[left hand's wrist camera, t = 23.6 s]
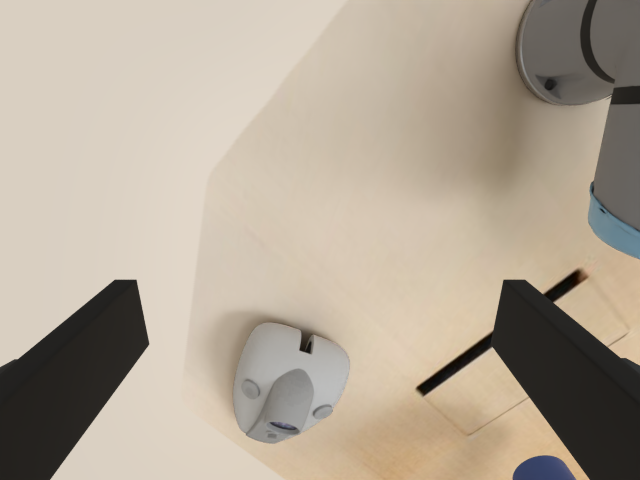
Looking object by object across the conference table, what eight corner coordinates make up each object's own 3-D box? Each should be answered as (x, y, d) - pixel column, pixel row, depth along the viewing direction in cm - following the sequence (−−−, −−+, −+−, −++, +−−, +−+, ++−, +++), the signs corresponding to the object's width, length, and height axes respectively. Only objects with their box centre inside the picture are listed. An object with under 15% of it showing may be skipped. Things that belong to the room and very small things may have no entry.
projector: (191, 343, 57) (149, 417, 43) (317, 288, 53) (316, 349, 40) (258, 435, 64) (241, 524, 50) (374, 391, 60) (390, 474, 46)
